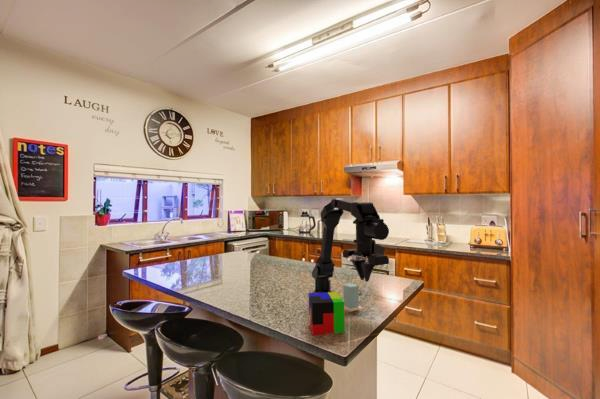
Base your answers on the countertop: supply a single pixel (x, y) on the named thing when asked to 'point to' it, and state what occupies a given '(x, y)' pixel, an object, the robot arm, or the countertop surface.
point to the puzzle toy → (326, 313)
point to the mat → (352, 311)
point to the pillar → (351, 297)
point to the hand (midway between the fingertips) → (364, 280)
